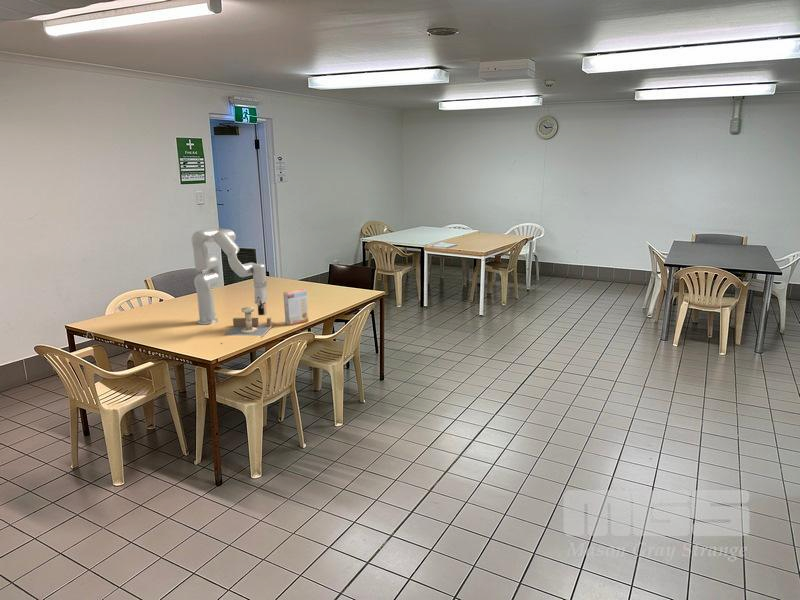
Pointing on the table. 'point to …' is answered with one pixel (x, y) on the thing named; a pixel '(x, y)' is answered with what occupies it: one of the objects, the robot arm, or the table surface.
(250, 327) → the bobbin
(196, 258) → the robot arm
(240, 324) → the grey board with ledge
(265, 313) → the copper block
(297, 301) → the cracker box
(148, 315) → the table surface
